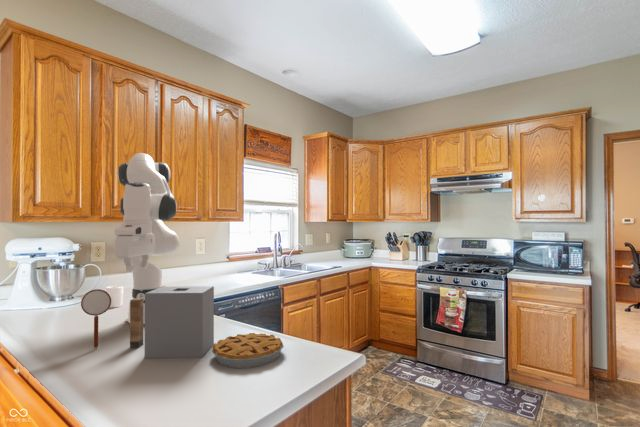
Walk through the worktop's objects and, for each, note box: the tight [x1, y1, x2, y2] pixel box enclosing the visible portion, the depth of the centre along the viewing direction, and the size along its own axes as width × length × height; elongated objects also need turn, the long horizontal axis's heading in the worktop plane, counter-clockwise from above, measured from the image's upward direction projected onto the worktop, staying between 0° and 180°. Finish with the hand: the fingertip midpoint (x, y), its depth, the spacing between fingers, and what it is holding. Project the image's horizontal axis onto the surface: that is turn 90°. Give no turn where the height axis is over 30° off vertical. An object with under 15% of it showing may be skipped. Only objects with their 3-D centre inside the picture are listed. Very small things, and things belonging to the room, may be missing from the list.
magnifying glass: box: [80, 288, 111, 351], centre depth 119 cm, size 9×2×20 cm, turn 114°
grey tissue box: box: [144, 285, 215, 359], centre depth 117 cm, size 12×18×20 cm, turn 90°
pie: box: [211, 332, 285, 369], centre depth 112 cm, size 22×22×5 cm
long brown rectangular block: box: [129, 298, 144, 349], centre depth 122 cm, size 3×3×16 cm
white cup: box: [105, 285, 125, 309], centre depth 183 cm, size 8×8×10 cm
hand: (137, 269), depth 123 cm, fingers open, 8 cm apart
